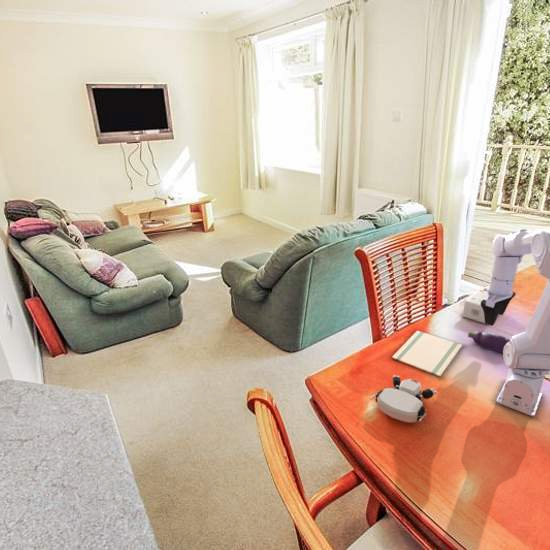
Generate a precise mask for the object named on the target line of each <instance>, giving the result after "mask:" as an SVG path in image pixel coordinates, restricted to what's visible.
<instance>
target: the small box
mask: <svg viewBox="0 0 550 550" xmlns="http://www.w3.org/2000/svg"><path fill="white" fill-rule="evenodd" d="M483 299H484V300H486V299H487V291H484V288H478V289H477V290H476V291H475V292H474V293H473V294H471V295H470V296H468V298H467V299H466V300H465V301H464V304H463V305H464V306H463V312H462V317H463V318H467V319H468V320H472V321H476V322H479V323H481V324H485V318H484V311H483V309H482V307H481V301H482V300H483ZM485 325H486V324H485Z"/></svg>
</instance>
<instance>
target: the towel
mask: <svg viewBox="0 0 550 550" xmlns="http://www.w3.org/2000/svg"><path fill="white" fill-rule="evenodd" d="M462 347H463V344H460V343H457V342H454V341H450V340H448V339H445V338H442V337H439V336H436V335H432V334H430V333H427V332H424V331H421V330H416V331H415V332H414V333H413V334H412V335H411V337H409V338H408V339H407V340H406V342H405V343H404V344H402V346H401V347H400V348H399V349H398V350H397V351H396V352H395V353H394V354H393V356H392V357H391V358H392V359H393V360H396V361H398V362H400V363H403V364H406V365H409V366H411V367H414V368H416V369H418V370H422V371H424V372H427V373H429V374H431V375H434V376H437V377H440V378H441V376H442V375H443V373H445V371H446V369H447V368H448V367H449V365H450V363H451V362H452V361H453V360H454V359H455V357H456V355H457V354H458V353H459V351H460V350H461V349H462Z"/></svg>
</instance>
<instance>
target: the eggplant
mask: <svg viewBox="0 0 550 550" xmlns="http://www.w3.org/2000/svg"><path fill="white" fill-rule="evenodd" d="M467 338H471V339H472V340H473V343H475V345H477V346H480V347H483V348H486V349H489V350H492V351H495V352H498V353H501V354H503V349H504V346H505V345H506V344H507V343H508V342H509V341H510V339H511V338H508V337H506V336H502V335H498V334H495V333H492V332H488V331H485V330H477V331H475V332H471V331H469V332H468V335H467Z"/></svg>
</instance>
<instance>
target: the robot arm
mask: <svg viewBox="0 0 550 550" xmlns="http://www.w3.org/2000/svg"><path fill="white" fill-rule="evenodd" d="M492 252H493V255H494V260H493V264H492V269H491V275H490V280H489V283H488V284H489V285H486V286H484V287H483V289H484V291H487V299H486V300H484V299H483V300H482V301H481V307H482V309H483V311H484V318H485V325H488V326H492V327H493V326H494V325H495V324H496V321H497V320H498V316H499V315H500V316H503V315H504V314H505V312H506V310H507V308H508V306H509V304H510V302H511V301H512V300H513V299H514V297H516V296H517V293H516V292H515V291H513V289H514V286H515V280H516V275H517V272H518V266H519V264H521V263H522V260H523V257H524V256H525V255H530V254H532V256H533V260H534V263H535V266H536V269H537V272H538V275H540V276H542V277H544V278H546V279H547V282H546V284H545V287H544V288H543V291H542V293H541V295H540V298H539V300H538V302H537V304H536V306H535V309H534V311H533V314H532V315H531V318H530V320H529V323H528V325H527V327H526V329H525V331H522V332H520V333H517V334H515V335H513V336H511V337H510V338H509V339H510V341H509V342H508V343H507V344H506V345H505V346H504V349H503V353H502V356H503V357H502V358H503V362H504V364H505V365H506V367H507V368H508V369H507V373H506V377H505V381H504V384H503V386H502V388H501V390H500V392H499V394H498V396H497V397H496V403H498V404H499V405H503V406H505V407H507V408H510V409H512V410H515V411H517V412H520V413H523V414H525V415H527V416H530V417H535V416H536V413H537V410H538V407H539V404H540V401H541V400H542V399H541V398H542V394H543V393H542V392H541V390H542V386H543V383H544V379H545V376H549V375H550V228H549V229H546V228H545V229H544V228H543V229H535V230H534V231H530V230H528V229H527V228H520V229H518V230H517V232H510V233H509V234H508V235H502V234H497V235H496V236H495V237H494V239H493V242H492Z"/></svg>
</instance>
